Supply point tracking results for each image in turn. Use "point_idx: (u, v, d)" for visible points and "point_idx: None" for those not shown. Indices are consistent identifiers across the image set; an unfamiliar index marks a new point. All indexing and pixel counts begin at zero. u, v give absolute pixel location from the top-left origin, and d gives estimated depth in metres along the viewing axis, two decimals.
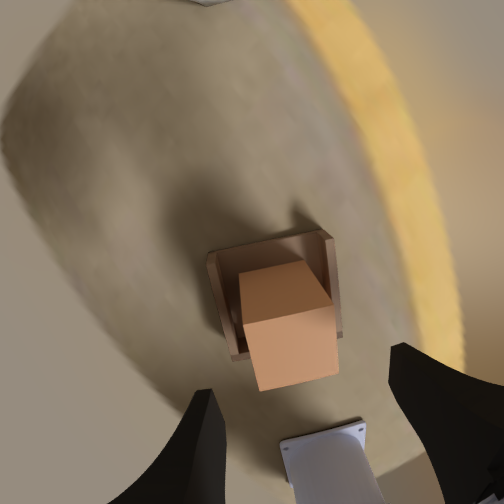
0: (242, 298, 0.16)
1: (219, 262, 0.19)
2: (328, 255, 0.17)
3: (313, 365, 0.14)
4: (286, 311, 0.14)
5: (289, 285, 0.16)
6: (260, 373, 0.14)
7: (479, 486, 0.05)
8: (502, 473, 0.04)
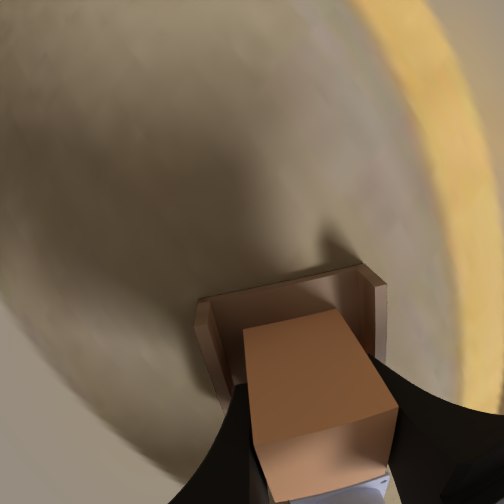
0: (250, 383, 0.10)
1: (214, 314, 0.12)
2: (377, 308, 0.11)
3: (353, 473, 0.08)
4: (324, 419, 0.07)
5: (321, 361, 0.10)
6: (277, 488, 0.08)
7: None
8: (456, 502, 0.04)
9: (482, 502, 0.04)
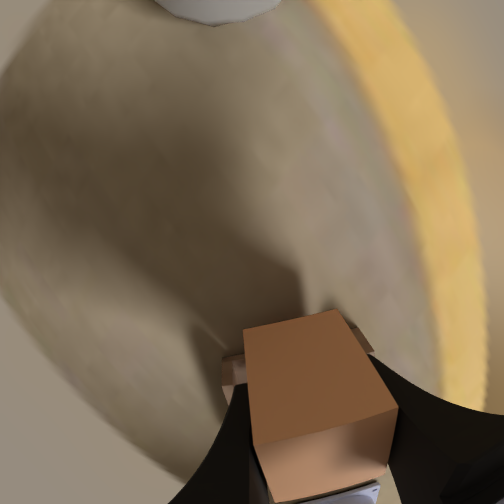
0: (250, 383, 0.10)
1: (235, 370, 0.15)
2: None
3: (353, 473, 0.08)
4: (324, 419, 0.07)
5: (321, 361, 0.10)
6: (277, 489, 0.08)
7: None
8: (456, 502, 0.04)
9: (482, 502, 0.04)
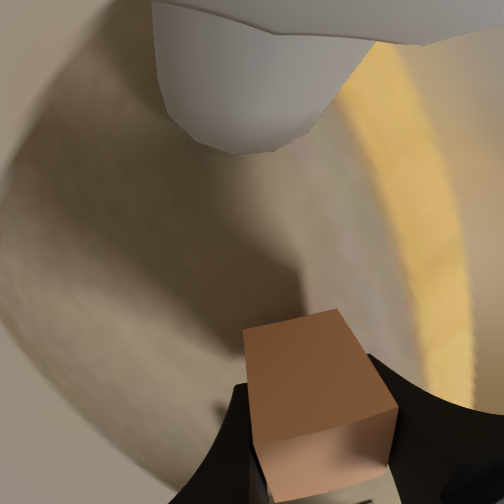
0: (250, 383, 0.10)
1: None
2: None
3: (353, 473, 0.08)
4: (324, 419, 0.07)
5: (321, 361, 0.10)
6: (277, 488, 0.08)
7: None
8: (455, 502, 0.04)
9: (482, 502, 0.04)
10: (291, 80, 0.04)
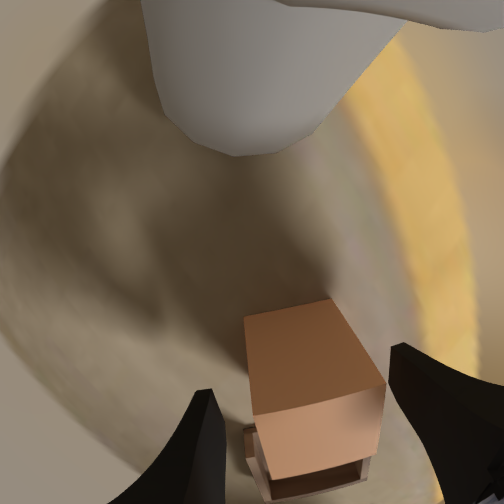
0: (250, 363, 0.11)
1: (255, 439, 0.16)
2: None
3: (346, 451, 0.09)
4: (318, 393, 0.08)
5: (316, 343, 0.11)
6: (275, 464, 0.09)
7: (479, 486, 0.05)
8: (502, 473, 0.04)
9: None
10: (301, 75, 0.03)
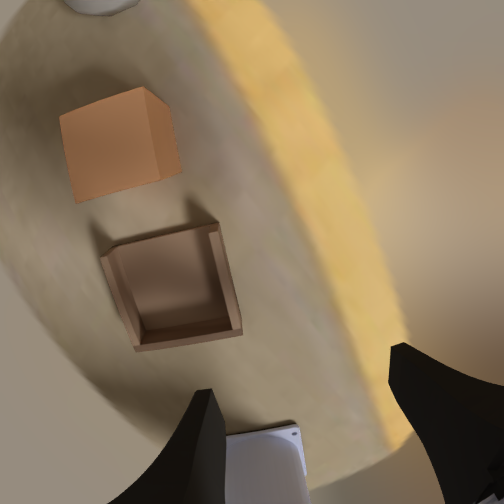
0: None
1: (120, 256, 0.18)
2: (213, 249, 0.17)
3: (127, 165, 0.12)
4: (100, 102, 0.11)
5: None
6: (74, 176, 0.12)
7: (479, 486, 0.05)
8: (502, 473, 0.04)
9: None
10: None
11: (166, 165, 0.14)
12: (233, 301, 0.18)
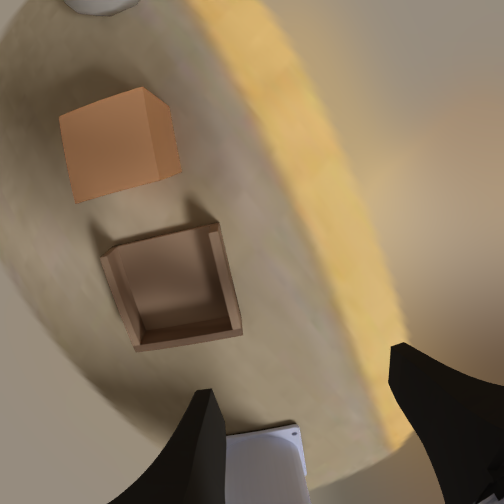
0: None
1: (120, 256, 0.18)
2: (213, 249, 0.17)
3: (127, 165, 0.12)
4: (100, 102, 0.11)
5: None
6: (74, 176, 0.12)
7: (479, 486, 0.05)
8: (502, 473, 0.04)
9: None
10: None
11: (166, 165, 0.13)
12: (233, 301, 0.18)
